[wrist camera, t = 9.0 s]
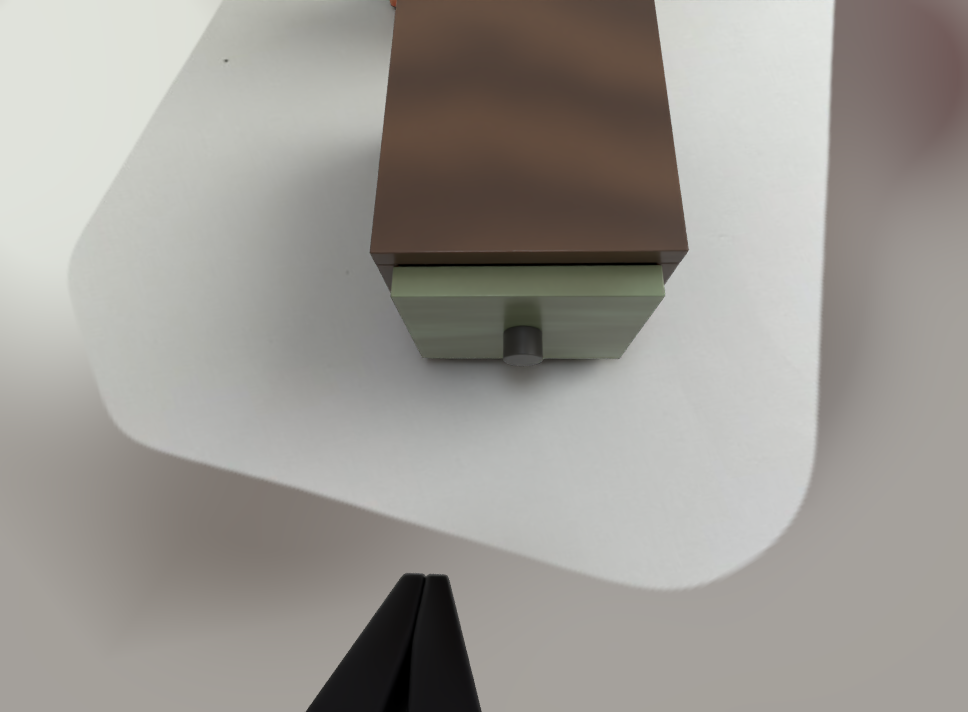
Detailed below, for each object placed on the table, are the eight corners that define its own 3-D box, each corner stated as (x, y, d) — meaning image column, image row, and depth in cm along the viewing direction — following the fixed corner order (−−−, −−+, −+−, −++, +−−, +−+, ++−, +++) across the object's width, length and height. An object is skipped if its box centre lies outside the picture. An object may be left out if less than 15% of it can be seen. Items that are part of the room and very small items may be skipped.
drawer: (621, 383, 22) (669, 328, 16) (420, 382, 22) (387, 329, 16) (602, 146, 26) (634, 26, 20) (435, 149, 27) (413, 33, 20)
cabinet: (625, 341, 24) (689, 250, 16) (415, 341, 24) (369, 253, 16) (607, 125, 28) (650, -35, 20) (429, 129, 28) (398, -26, 20)
